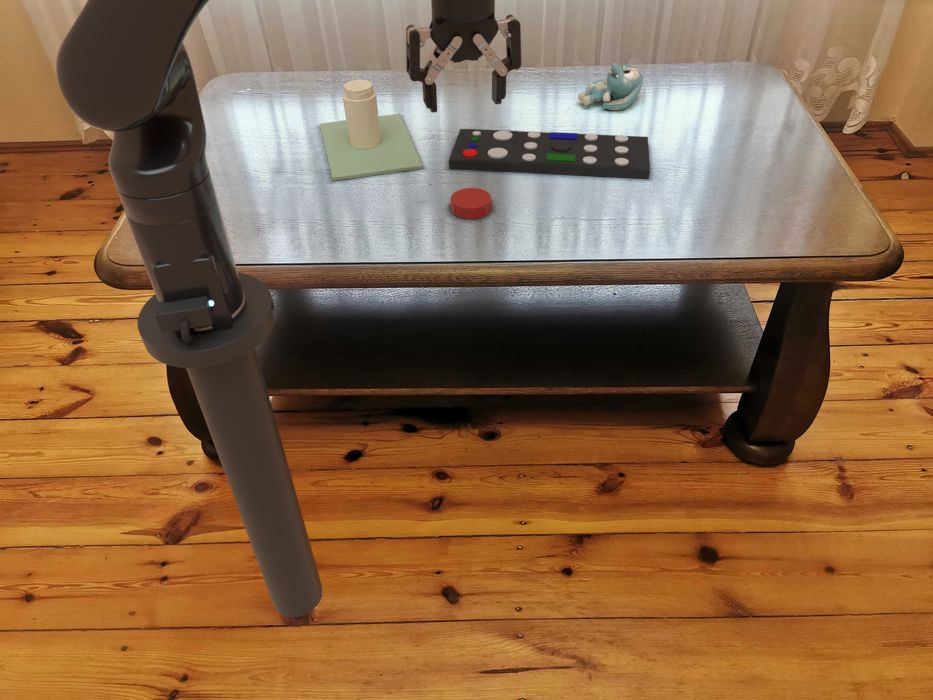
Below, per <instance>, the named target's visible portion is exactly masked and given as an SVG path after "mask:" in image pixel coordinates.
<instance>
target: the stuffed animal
mask: <svg viewBox="0 0 933 700" xmlns="http://www.w3.org/2000/svg"><path fill="white" fill-rule="evenodd" d="M643 82H644V78H643V74H642V73H641V71H639V70H638V69H637V68H635V67H634V66H632V65H631V64H629V63H625V64H623V65H621V64H620V63H617V62H614V63H612V64H611V68H610V70H609V71H608V72H607V75H606V78H602V79H599V80H598V79H597V80H595V81H593V82H591V83H590V84H588V85H587V87H586V88H585V91H582V92H579V93H578V94H577V101H579V102H580V103H582V104H583V105H584V106H587V105H590V104H592V103H594V101H595V102H601V101H603V103H602V109H607V110H609V111H610V110H611V111H620V110H621V111H622V110H624V109H626V108H628V107H629V106H630V105H631V104H632V103H633V102H634V101H635V100H636V99H637V98H638V97H639V95H640V93H641V90H642V88H643ZM611 97H612V98H614V99H615V100H612V101H611Z"/></svg>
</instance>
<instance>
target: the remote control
mask: <svg viewBox="0 0 933 700" xmlns="http://www.w3.org/2000/svg"><path fill="white" fill-rule="evenodd" d="M649 148H650V147H649V136H640V135H639V136H638V135H624V134H618V135H617V134H616V135H613V134H595V133H578V132H557V131H549V132H548V131H547V132H545V131H543V132H542V131H533V130H532V131H523V130H521V131H520V130H506V129H505V130H504V129H502V130H501V129H479V128H478V129H477V128H459V131H458V134H457V136H456V139H455V142H454V145H453V148H452V151H451V153H450V156H449V159H448V169H449V170H464V171H483V172H499V173H500V172H502V173H519V174H520V173H523V174H540V175H542V174H543V175H545V174H546V175H561V176H584V177H599V178H600V177H603V178H622V179H641V180H649V178H650V174H651V173H650V172H651V165H650V149H649Z"/></svg>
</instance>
